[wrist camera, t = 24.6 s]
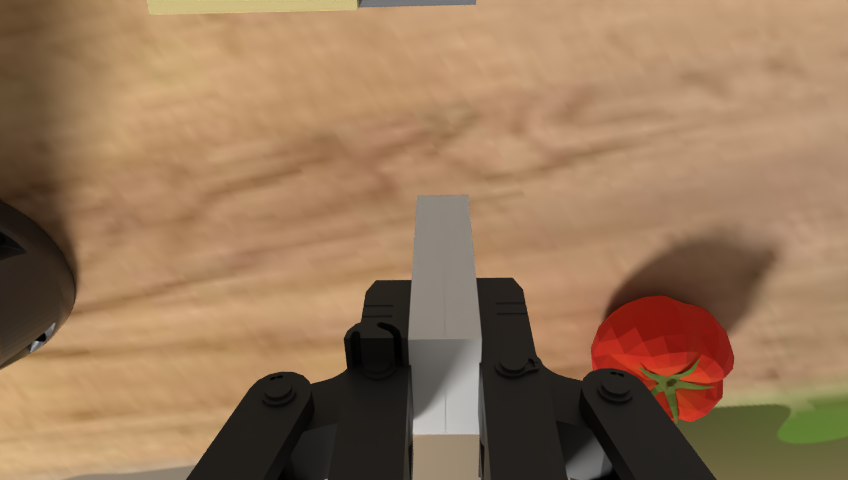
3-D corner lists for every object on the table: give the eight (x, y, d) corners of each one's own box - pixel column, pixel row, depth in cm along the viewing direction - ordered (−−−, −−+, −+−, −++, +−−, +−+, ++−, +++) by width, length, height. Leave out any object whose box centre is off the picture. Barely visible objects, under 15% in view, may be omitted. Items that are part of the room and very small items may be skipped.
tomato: (619, 264, 51) (646, 322, 44) (737, 303, 52) (779, 364, 46) (560, 359, 56) (576, 424, 49) (669, 392, 57) (699, 458, 51)
